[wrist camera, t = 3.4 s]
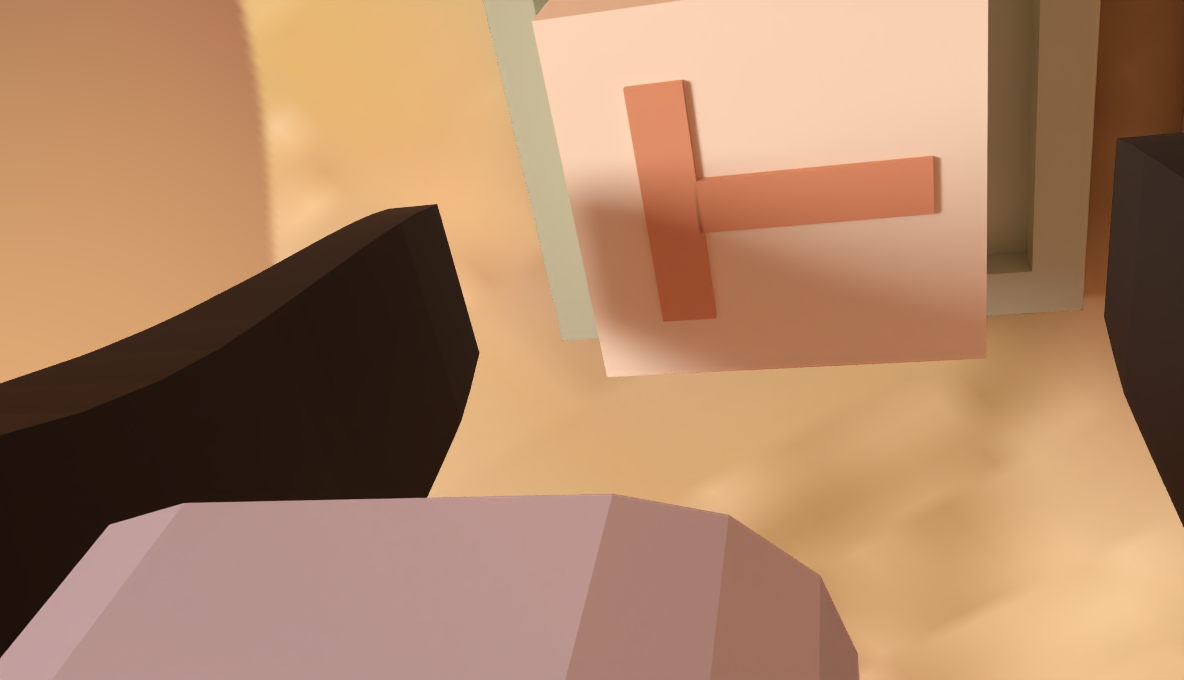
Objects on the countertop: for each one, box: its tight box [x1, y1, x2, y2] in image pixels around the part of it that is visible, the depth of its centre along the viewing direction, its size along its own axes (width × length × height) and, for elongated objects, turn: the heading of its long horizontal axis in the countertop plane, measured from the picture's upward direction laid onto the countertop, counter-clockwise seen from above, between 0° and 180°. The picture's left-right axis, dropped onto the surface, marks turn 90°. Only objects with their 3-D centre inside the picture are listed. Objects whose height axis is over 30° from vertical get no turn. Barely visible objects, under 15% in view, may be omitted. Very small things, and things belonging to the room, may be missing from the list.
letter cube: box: [532, 0, 988, 377], centre depth 15 cm, size 5×5×5 cm
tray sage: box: [483, 0, 1101, 341], centre depth 17 cm, size 9×9×1 cm
